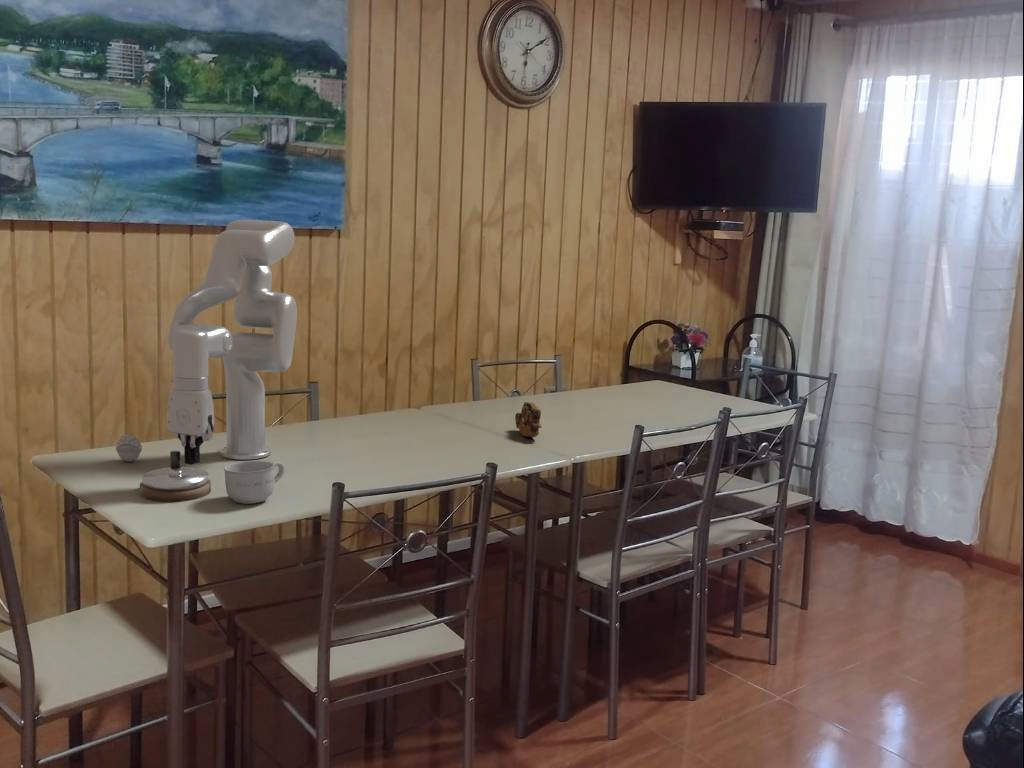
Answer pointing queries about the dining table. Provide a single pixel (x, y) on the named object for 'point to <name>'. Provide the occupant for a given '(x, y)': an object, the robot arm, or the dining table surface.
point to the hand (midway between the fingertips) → (192, 463)
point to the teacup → (251, 480)
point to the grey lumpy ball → (128, 448)
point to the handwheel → (175, 476)
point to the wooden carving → (529, 420)
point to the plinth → (175, 493)
